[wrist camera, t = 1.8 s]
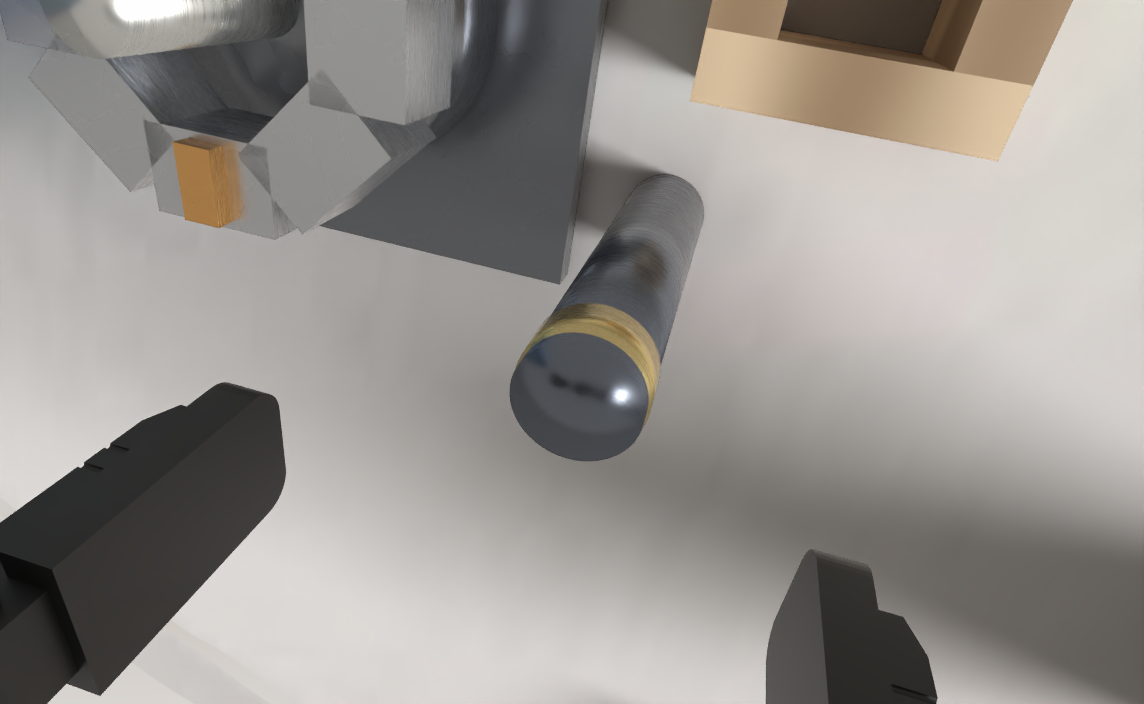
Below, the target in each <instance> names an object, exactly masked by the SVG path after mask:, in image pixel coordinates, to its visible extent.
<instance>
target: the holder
mask: <svg viewBox="0 0 1144 704" xmlns="http://www.w3.org/2000/svg"><path fill="white" fill-rule="evenodd" d="M1072 1H1073V0H942V2H941V4H940V7H939V10H938V12H937V15H936V18H935V20H934V23H933V26H932V28H931V31H930V34H929V36H928V39H927V42H926V44H925V47H924V50H923V52H922V55H921V54H916V53H910V52H904V51H899V50H893V49H887V48H882V47H876V46H870V45H865V44H859V43H853V42H848V41H842V40H836V39H831V38H825V37H819V36H814V35H808V34H802V33H796V32H791V31H785V30H780V29H781V25H782V21H783V18H784V14H785V10H786V7H787V3H788V0H712V4H711V8H710V13H709V17H708V22H707V26H706V31H705V35H704V40H703V45H702V49H701V54H700V58H699V63H698V67H697V72H696V76H695V81H694V85H693V90H692V94H691V99H690V101H692V102H697V103H702V104H707V105H712V106H718V107H723V108H728V109H733V110H738V111H743V112H748V113H753V114H758V115H764V116H769V117H774V118H779V119H784V120H789V121H794V122H799V123H804V124H810V125H815V126H820V127H825V128H830V129H835V130H840V131H845V132H850V133H856V134H861V135H866V136H871V137H876V138H881V139H886V140H891V141H896V142H902V143H907V144H912V145H917V146H922V147H927V148H932V149H937V150H942V151H948V152H953V153H958V154H963V155H968V156H973V157H978V158H983V159H988V160H994V161H998V160H999V158H1000V156H1001V154H1002V152H1003V149H1004V147H1005V145H1006V143H1007V141H1008V139H1009V137H1010V134H1011V132H1012V130H1013V128H1014V126H1015V124H1016V122H1017V119H1018V117H1019V115H1020V113H1021V111H1022V109H1023V107H1024V104H1025V102H1026V100H1027V98H1028V96H1029V94H1030V92H1031V89H1032V87H1033V85H1034V83H1035V81H1036V79H1037V76H1038V74H1039V72H1040V70H1041V68H1042V66H1043V64H1044V61H1045V59H1046V57H1047V55H1048V53H1049V51H1050V49H1051V46H1052V44H1053V42H1054V40H1055V38H1056V36H1057V34H1058V31H1059V29H1060V27H1061V25H1062V23H1063V21H1064V19H1065V16H1066V14H1067V12H1068V10H1069V8H1070V6H1071V4H1072Z"/></svg>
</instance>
